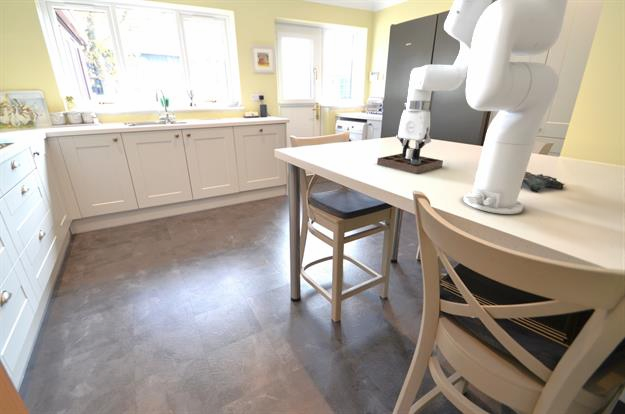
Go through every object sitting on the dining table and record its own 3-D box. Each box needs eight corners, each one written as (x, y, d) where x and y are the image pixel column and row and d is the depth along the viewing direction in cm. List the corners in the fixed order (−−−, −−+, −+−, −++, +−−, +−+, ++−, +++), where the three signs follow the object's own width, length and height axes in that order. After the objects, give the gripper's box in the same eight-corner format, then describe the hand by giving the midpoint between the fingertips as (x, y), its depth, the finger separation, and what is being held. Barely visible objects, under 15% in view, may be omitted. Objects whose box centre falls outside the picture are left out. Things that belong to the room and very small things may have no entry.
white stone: (411, 159, 104) (413, 150, 103) (403, 158, 106) (404, 148, 105) (417, 158, 106) (418, 148, 105) (408, 156, 109) (410, 147, 107)
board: (416, 174, 96) (417, 166, 95) (376, 164, 108) (377, 158, 108) (441, 167, 106) (443, 160, 105) (403, 158, 118) (403, 152, 117)
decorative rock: (519, 162, 97) (575, 168, 86) (514, 179, 99) (570, 187, 88) (494, 165, 87) (556, 172, 75) (490, 185, 88) (550, 195, 77)
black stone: (416, 170, 97) (417, 160, 96) (407, 168, 100) (408, 158, 99) (421, 169, 100) (423, 159, 98) (412, 167, 102) (414, 157, 101)
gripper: (391, 105, 103) (386, 155, 110) (434, 107, 91) (425, 163, 98) (403, 105, 107) (397, 153, 114) (445, 107, 96) (436, 160, 102)
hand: (410, 157), depth 106 cm, fingers closed on white stone, 3 cm apart
